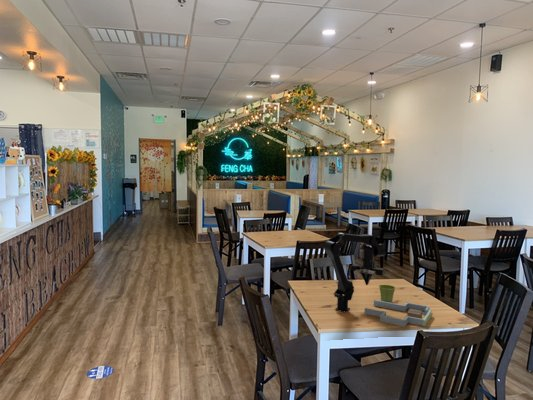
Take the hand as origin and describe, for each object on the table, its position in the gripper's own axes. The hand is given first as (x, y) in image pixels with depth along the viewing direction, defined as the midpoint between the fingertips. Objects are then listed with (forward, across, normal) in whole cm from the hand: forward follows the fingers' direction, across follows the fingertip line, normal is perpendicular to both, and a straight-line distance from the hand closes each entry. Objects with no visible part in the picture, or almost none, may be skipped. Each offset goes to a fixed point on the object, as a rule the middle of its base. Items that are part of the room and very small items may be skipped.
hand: (367, 284), depth 220 cm
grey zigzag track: (+12, -19, +4) cm, 22 cm away
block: (+12, -27, +4) cm, 30 cm away
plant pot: (+12, -7, -14) cm, 20 cm away
